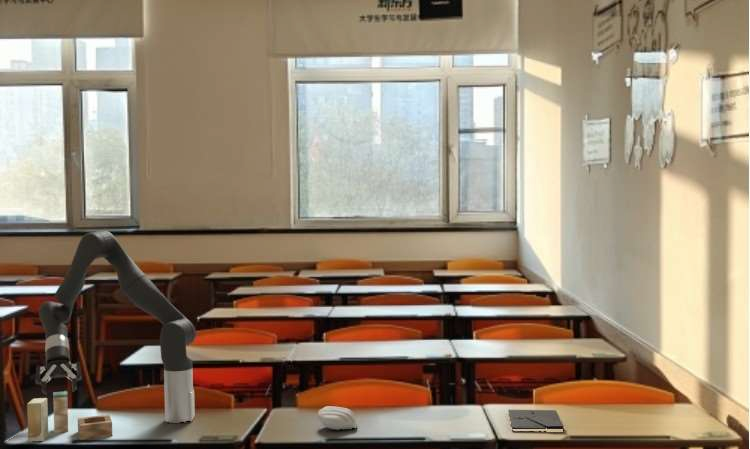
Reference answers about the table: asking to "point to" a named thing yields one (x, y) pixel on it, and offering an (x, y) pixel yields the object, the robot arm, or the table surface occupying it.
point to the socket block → (94, 427)
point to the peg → (60, 412)
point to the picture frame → (535, 419)
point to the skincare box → (37, 419)
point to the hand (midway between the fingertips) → (59, 391)
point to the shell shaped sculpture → (337, 418)
